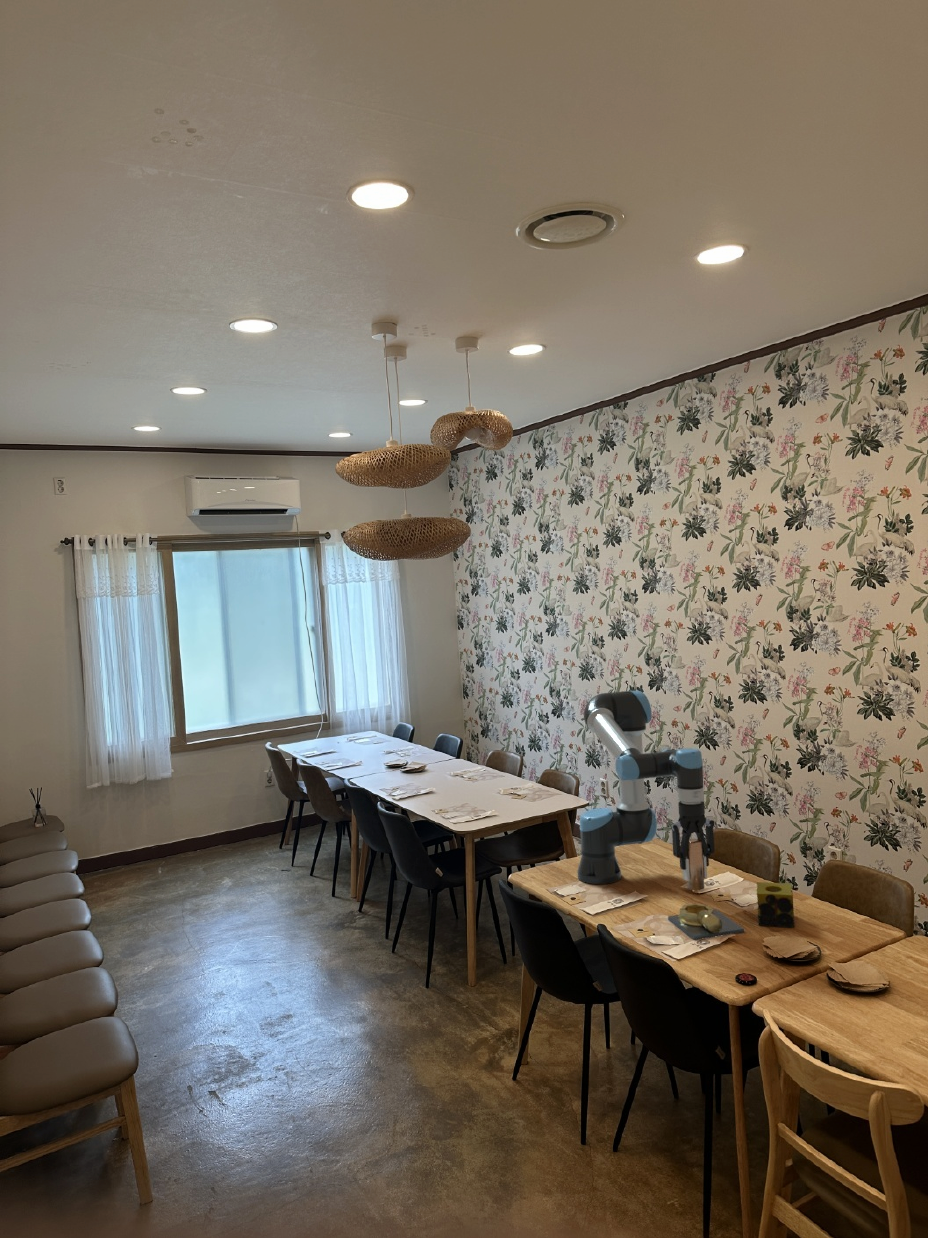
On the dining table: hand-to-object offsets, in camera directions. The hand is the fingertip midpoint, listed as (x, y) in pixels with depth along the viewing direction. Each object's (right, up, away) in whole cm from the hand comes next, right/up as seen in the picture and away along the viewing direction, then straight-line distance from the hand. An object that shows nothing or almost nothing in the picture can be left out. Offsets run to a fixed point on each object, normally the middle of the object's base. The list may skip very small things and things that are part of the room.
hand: (695, 878), depth 253 cm
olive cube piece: (+24, -12, -2) cm, 27 cm away
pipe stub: (0, -3, 0) cm, 3 cm away
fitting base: (+2, -13, -2) cm, 14 cm away
